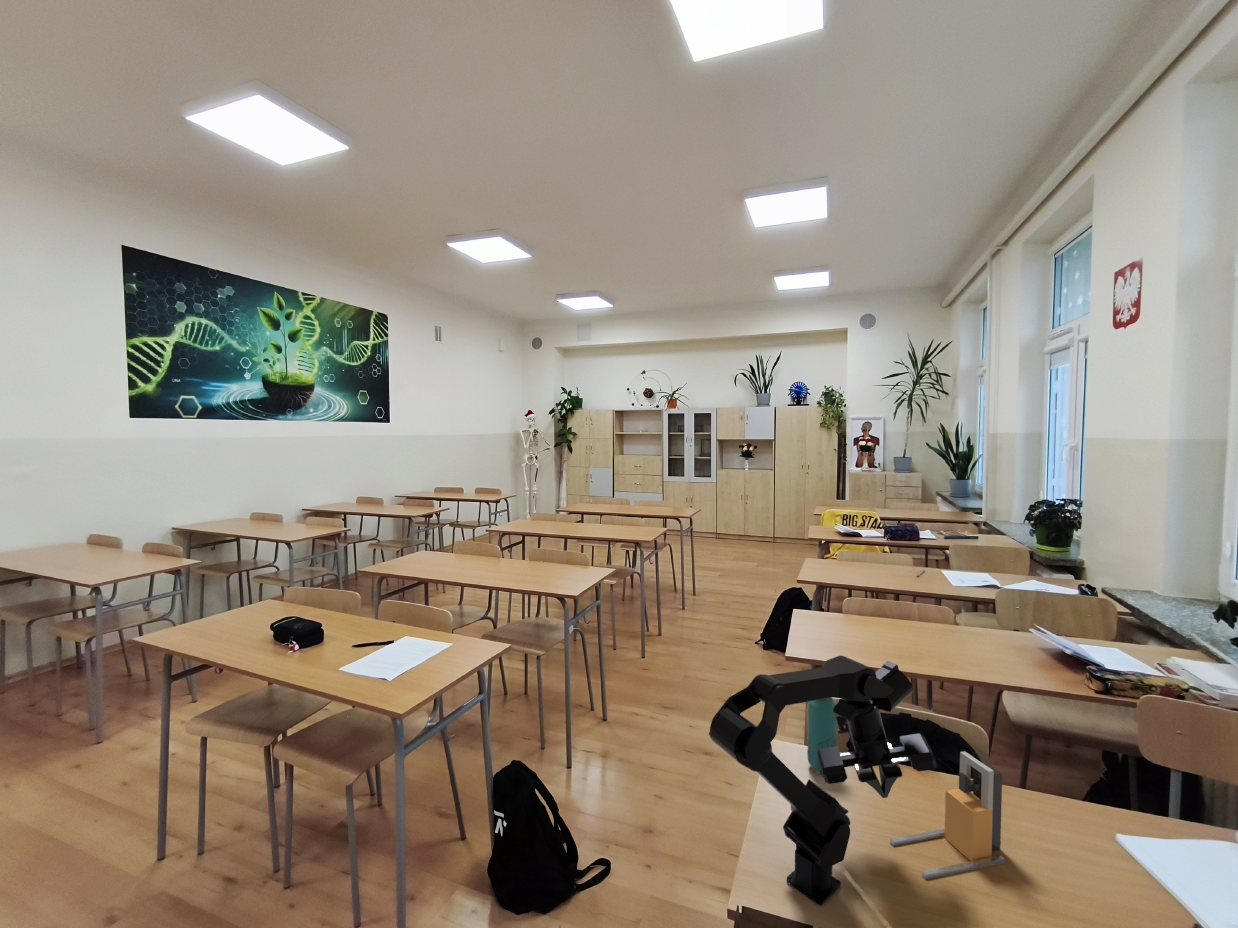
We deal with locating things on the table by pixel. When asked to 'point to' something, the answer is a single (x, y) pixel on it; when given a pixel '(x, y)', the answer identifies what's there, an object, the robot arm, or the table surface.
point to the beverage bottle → (821, 728)
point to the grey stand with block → (964, 787)
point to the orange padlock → (971, 813)
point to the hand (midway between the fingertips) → (884, 795)
